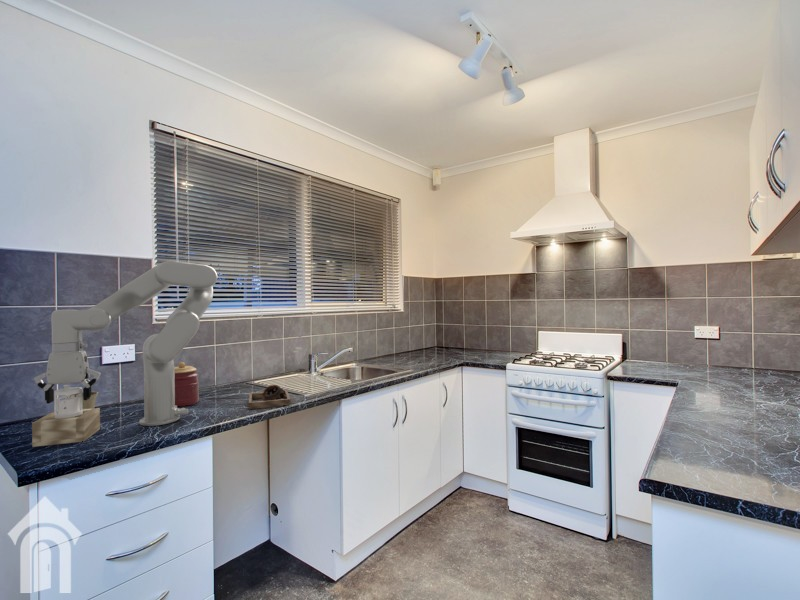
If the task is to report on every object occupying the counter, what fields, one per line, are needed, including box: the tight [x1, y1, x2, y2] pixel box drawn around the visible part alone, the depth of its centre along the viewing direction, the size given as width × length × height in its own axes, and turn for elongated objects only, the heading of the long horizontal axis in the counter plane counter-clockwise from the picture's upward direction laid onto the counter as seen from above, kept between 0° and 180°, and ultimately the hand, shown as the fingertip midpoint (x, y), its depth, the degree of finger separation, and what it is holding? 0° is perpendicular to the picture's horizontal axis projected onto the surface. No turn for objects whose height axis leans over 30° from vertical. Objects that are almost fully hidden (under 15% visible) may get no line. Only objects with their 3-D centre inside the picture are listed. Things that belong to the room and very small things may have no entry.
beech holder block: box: [31, 407, 101, 448], centre depth 129 cm, size 13×13×7 cm
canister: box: [174, 361, 200, 408], centre depth 171 cm, size 13×13×18 cm
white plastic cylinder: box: [53, 384, 83, 419], centre depth 129 cm, size 7×7×15 cm
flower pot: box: [66, 391, 99, 409], centre depth 152 cm, size 9×9×9 cm
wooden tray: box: [248, 389, 291, 410], centre depth 171 cm, size 16×18×2 cm
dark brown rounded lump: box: [262, 384, 286, 401], centre depth 172 cm, size 12×10×8 cm
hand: (68, 400), depth 129 cm, fingers open, 9 cm apart
